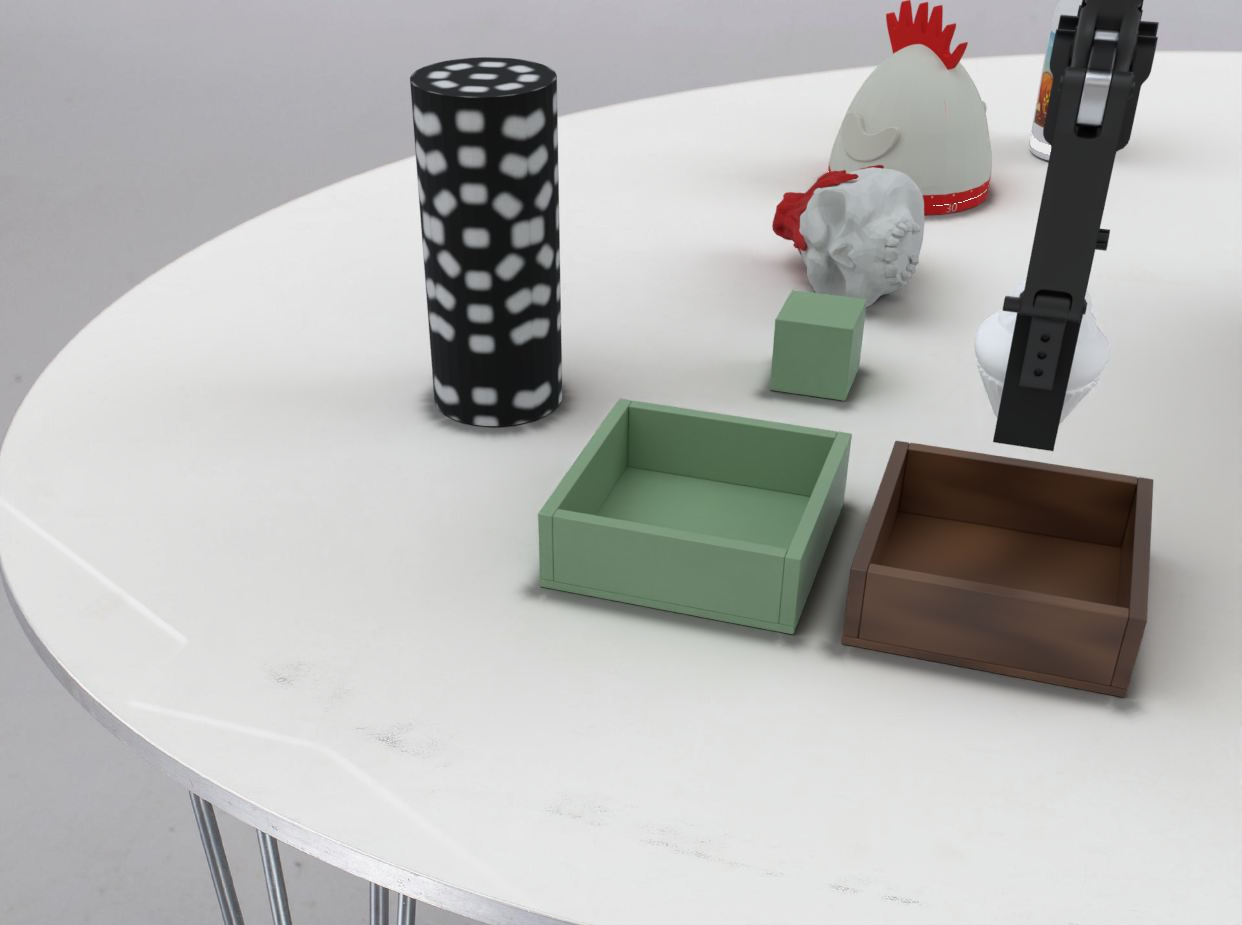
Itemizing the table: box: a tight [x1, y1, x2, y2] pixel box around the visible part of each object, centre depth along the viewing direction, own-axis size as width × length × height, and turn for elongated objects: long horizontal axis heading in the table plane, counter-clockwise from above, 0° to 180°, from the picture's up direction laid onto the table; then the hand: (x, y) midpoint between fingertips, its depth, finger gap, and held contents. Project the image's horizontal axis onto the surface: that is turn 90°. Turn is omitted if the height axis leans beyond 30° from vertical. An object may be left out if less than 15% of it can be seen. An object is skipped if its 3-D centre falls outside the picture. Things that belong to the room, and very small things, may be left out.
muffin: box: [973, 279, 1111, 425], centre depth 66 cm, size 6×6×7 cm
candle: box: [771, 165, 925, 308], centre depth 106 cm, size 9×11×15 cm
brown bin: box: [840, 440, 1154, 698], centre depth 73 cm, size 14×14×4 cm
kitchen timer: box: [827, 0, 993, 216], centre depth 121 cm, size 14×14×15 cm
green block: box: [769, 289, 867, 402], centre depth 94 cm, size 5×5×5 cm
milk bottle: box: [1028, 0, 1082, 162], centre depth 127 cm, size 8×8×20 cm
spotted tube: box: [409, 56, 563, 427], centre depth 87 cm, size 8×8×20 cm
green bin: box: [537, 398, 853, 635], centre depth 78 cm, size 14×14×4 cm
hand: (1030, 409), depth 68 cm, fingers closed on muffin, 6 cm apart
